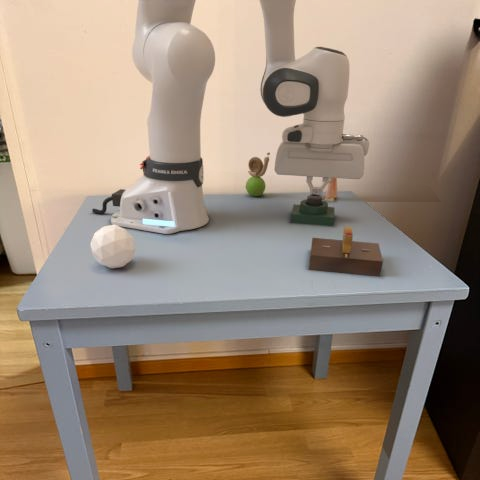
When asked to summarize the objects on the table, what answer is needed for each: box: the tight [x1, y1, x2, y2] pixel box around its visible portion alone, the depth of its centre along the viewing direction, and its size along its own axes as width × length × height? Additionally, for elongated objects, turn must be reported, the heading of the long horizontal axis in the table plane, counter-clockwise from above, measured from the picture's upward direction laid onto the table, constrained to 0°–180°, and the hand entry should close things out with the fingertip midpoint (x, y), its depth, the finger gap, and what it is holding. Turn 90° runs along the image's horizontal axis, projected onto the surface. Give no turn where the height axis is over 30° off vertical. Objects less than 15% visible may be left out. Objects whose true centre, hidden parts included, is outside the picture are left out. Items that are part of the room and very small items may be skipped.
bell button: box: [306, 195, 323, 206], centre depth 108 cm, size 4×4×2 cm
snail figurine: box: [245, 151, 271, 197], centre depth 123 cm, size 5×6×12 cm
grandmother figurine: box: [324, 178, 338, 203], centre depth 122 cm, size 8×4×13 cm, turn 179°
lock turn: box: [341, 226, 354, 253], centre depth 85 cm, size 5×1×4 cm, turn 170°
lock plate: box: [308, 237, 384, 277], centre depth 87 cm, size 13×9×3 cm
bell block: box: [290, 199, 335, 227], centre depth 109 cm, size 10×8×4 cm
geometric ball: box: [89, 224, 136, 270], centre depth 82 cm, size 8×8×8 cm
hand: (315, 195), depth 107 cm, fingers closed
